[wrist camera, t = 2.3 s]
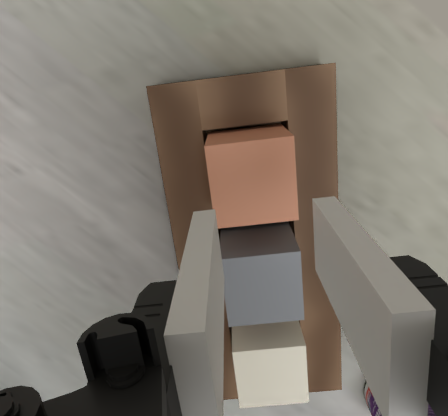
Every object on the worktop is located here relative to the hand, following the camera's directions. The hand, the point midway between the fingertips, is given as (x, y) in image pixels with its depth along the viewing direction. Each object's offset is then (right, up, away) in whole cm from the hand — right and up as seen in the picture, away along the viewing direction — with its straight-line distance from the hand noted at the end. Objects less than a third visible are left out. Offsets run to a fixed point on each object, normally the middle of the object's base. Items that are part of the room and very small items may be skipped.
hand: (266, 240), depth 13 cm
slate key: (+1, -2, +14) cm, 14 cm away
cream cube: (+2, -8, +16) cm, 18 cm away
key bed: (+1, -1, +16) cm, 16 cm away
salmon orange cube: (0, +4, +11) cm, 12 cm away
